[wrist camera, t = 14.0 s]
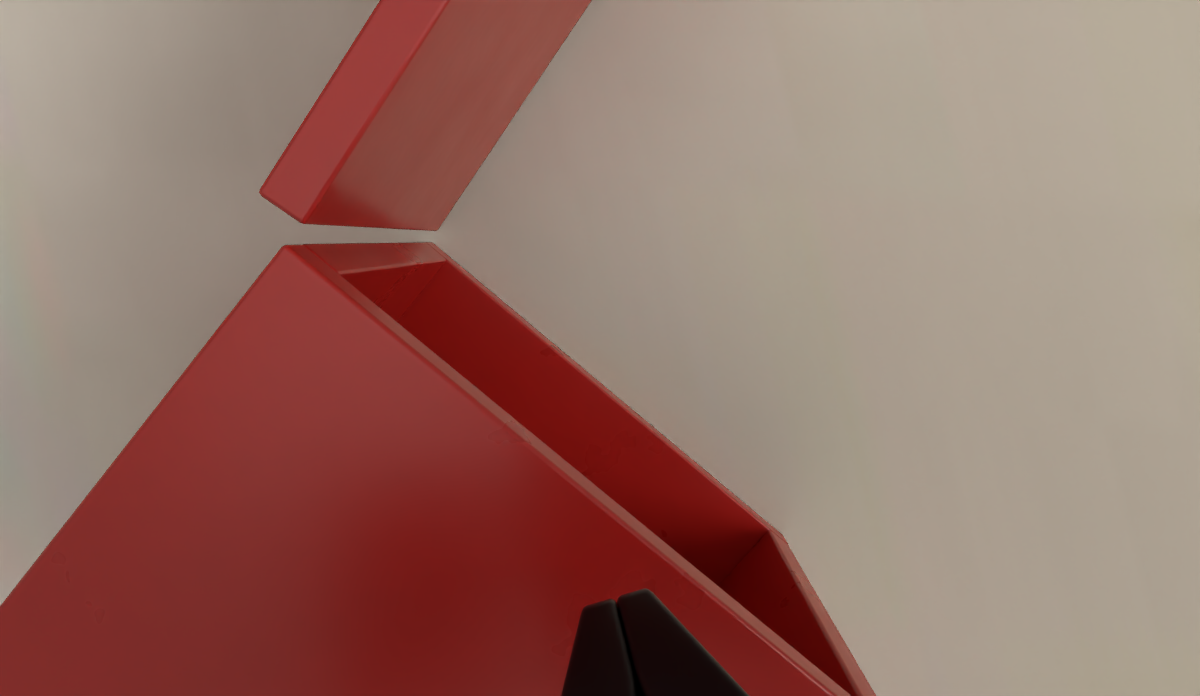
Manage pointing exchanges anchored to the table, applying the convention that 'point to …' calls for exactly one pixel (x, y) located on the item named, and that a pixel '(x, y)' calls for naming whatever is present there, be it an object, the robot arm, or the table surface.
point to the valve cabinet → (396, 514)
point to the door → (416, 110)
